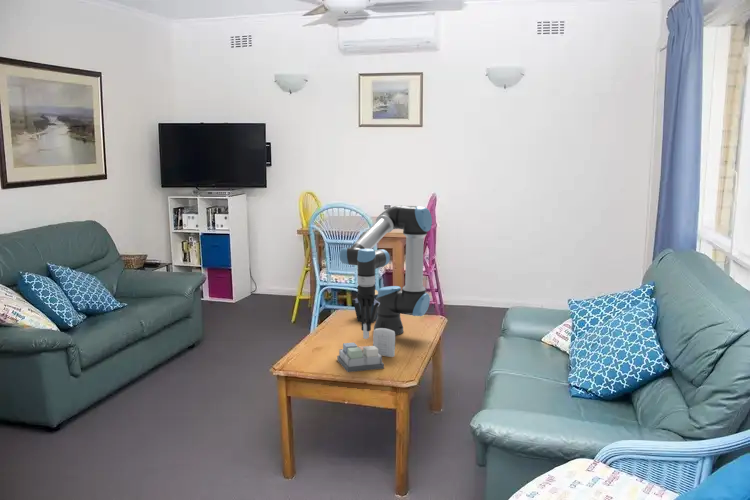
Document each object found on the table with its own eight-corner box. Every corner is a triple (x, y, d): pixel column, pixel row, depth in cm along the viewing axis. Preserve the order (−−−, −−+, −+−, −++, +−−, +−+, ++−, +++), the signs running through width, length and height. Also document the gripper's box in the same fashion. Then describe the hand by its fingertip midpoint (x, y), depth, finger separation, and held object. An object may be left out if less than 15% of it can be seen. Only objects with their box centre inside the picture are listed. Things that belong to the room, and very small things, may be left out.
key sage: (358, 355, 265) (358, 347, 264) (362, 358, 260) (362, 350, 260) (347, 356, 263) (347, 348, 263) (350, 359, 259) (350, 351, 258)
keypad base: (371, 356, 277) (372, 346, 276) (383, 368, 262) (384, 357, 261) (337, 360, 272) (337, 349, 271) (347, 372, 257) (347, 360, 256)
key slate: (354, 350, 271) (354, 342, 271) (357, 353, 267) (357, 345, 266) (343, 351, 270) (343, 343, 269) (346, 354, 265) (346, 346, 265)
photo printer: (396, 355, 280) (396, 328, 278) (392, 357, 276) (393, 330, 274) (374, 352, 284) (375, 325, 282) (371, 354, 280) (371, 328, 278)
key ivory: (374, 353, 267) (374, 345, 267) (378, 357, 262) (378, 349, 262) (363, 354, 265) (363, 346, 265) (366, 358, 261) (366, 350, 260)
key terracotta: (369, 353, 274) (369, 345, 273) (372, 356, 269) (372, 348, 269) (358, 354, 272) (358, 346, 272) (361, 357, 268) (361, 349, 267)
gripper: (348, 285, 266) (348, 338, 269) (376, 288, 260) (375, 342, 264) (356, 281, 272) (356, 333, 276) (383, 284, 267) (383, 337, 270)
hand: (366, 337), depth 270 cm, fingers closed
